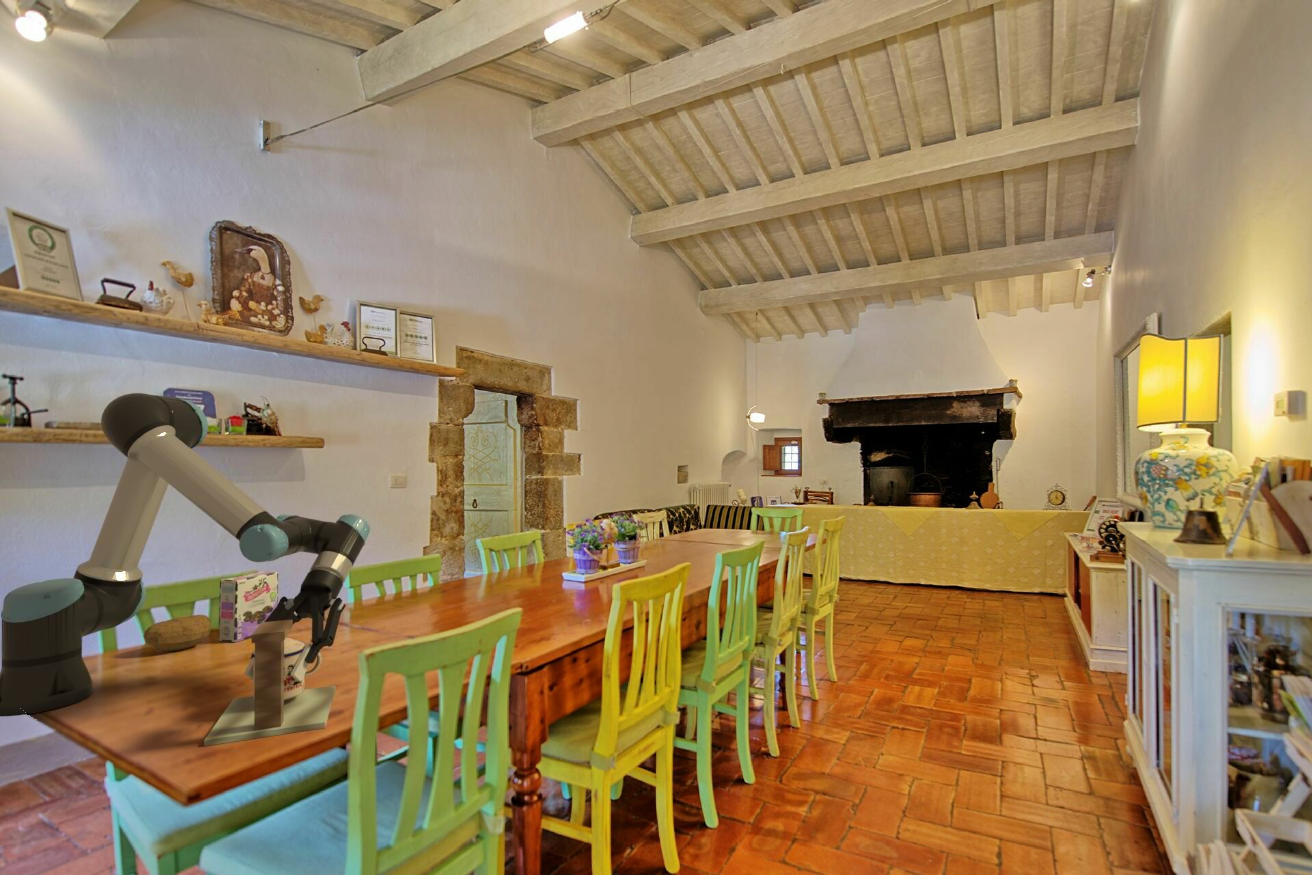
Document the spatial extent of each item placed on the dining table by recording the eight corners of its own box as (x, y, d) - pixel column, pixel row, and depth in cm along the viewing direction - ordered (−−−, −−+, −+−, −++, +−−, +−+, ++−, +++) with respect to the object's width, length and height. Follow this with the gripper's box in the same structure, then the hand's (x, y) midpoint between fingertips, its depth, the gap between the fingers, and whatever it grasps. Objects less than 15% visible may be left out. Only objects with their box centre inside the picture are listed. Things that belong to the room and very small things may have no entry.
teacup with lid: (256, 707, 117) (257, 643, 118) (247, 693, 124) (247, 633, 124) (327, 690, 126) (328, 631, 126) (314, 678, 132) (315, 622, 132)
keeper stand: (204, 746, 106) (205, 640, 107) (233, 703, 125) (233, 614, 126) (324, 727, 113) (325, 628, 114) (335, 690, 132) (335, 605, 132)
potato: (138, 652, 160) (139, 620, 160) (204, 640, 171) (205, 609, 171) (148, 660, 154) (149, 626, 154) (216, 646, 164) (217, 615, 165)
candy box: (235, 643, 167) (235, 580, 168) (217, 641, 169) (218, 579, 169) (278, 629, 181) (279, 570, 181) (262, 628, 182) (262, 570, 183)
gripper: (379, 588, 139) (333, 688, 123) (289, 586, 142) (232, 684, 126) (365, 568, 134) (315, 669, 118) (271, 567, 137) (210, 666, 121)
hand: (272, 677), depth 122 cm, fingers closed on teacup with lid, 9 cm apart
